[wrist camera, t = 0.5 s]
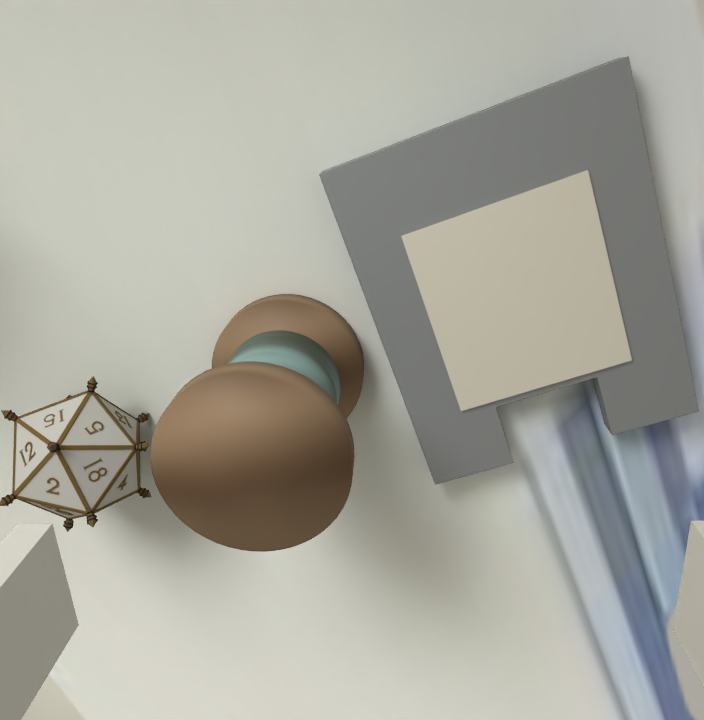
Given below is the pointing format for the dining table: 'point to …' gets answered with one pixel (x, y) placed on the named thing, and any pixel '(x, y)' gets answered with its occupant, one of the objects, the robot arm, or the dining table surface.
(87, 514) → the game die
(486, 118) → the notched board
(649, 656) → the dining table surface
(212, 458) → the bobbin
